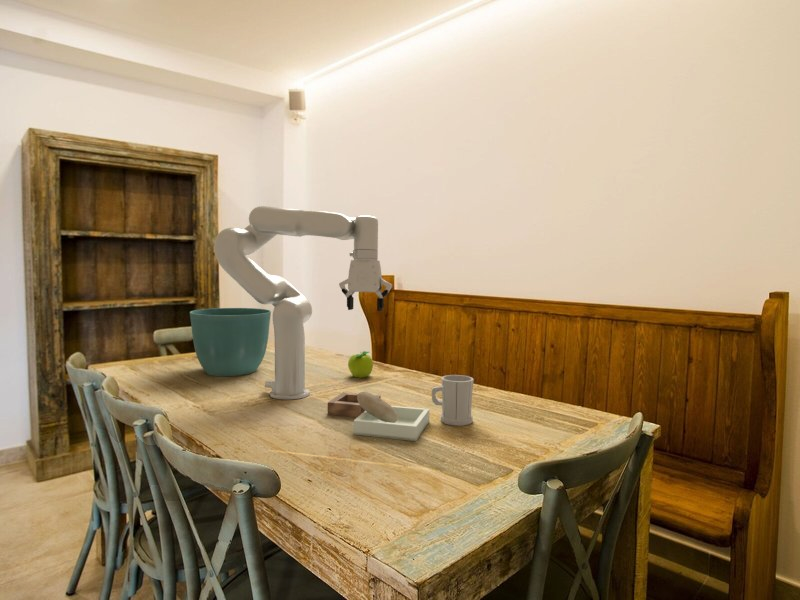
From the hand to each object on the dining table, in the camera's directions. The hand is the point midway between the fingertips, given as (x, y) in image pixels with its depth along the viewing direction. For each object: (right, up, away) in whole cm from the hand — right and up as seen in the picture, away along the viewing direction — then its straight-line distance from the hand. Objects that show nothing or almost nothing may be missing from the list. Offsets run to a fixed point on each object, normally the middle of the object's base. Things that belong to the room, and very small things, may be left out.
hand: (365, 310), depth 159 cm
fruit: (-4, -27, +32) cm, 41 cm away
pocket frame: (-2, -29, -12) cm, 32 cm away
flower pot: (-55, -25, +38) cm, 71 cm away
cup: (+26, -30, -21) cm, 45 cm away
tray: (+9, -30, -28) cm, 42 cm away
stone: (+9, -30, -28) cm, 41 cm away
